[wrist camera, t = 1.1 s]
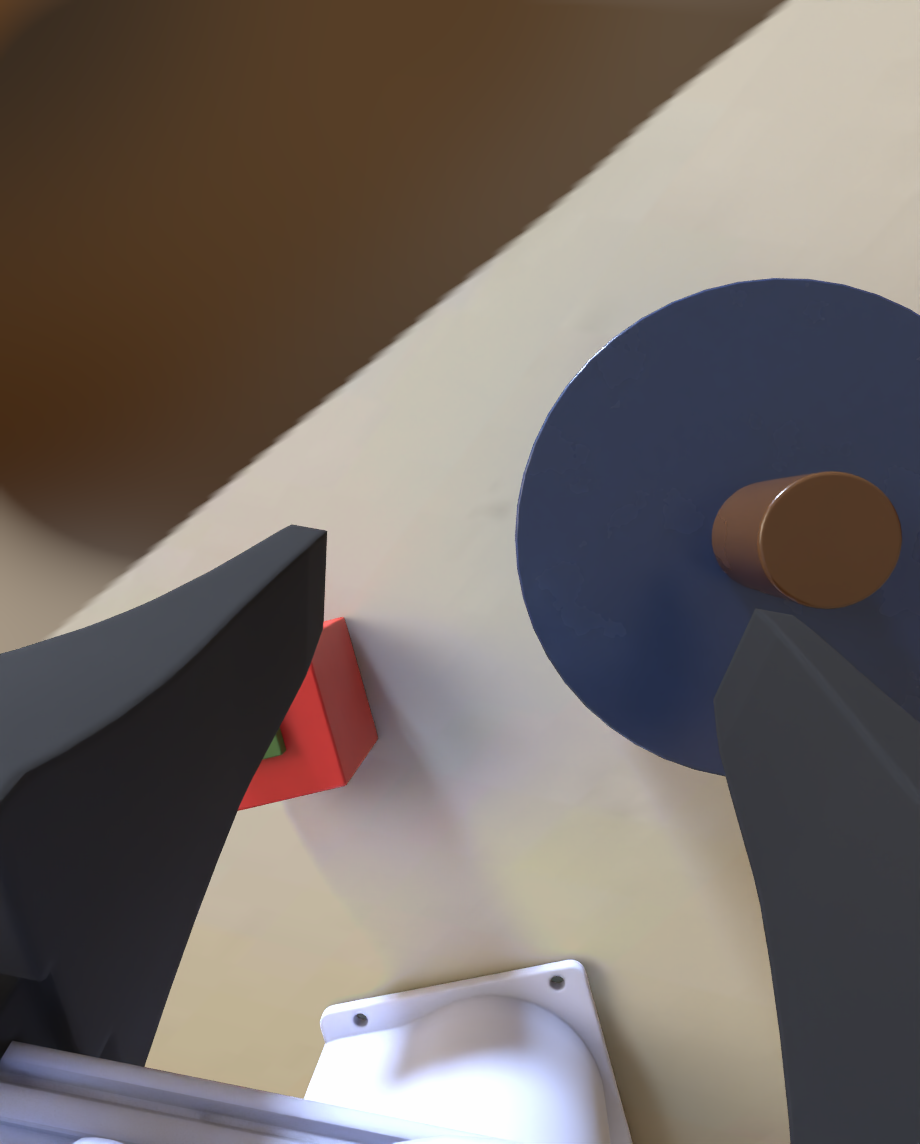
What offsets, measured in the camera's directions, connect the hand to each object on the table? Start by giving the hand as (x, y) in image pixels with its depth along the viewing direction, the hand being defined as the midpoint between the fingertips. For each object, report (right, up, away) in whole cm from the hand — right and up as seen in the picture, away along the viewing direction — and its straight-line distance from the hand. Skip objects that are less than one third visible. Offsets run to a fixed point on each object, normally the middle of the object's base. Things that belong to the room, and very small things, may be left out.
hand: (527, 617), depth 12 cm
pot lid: (+6, +2, +4) cm, 7 cm away
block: (-7, -3, +12) cm, 14 cm away
